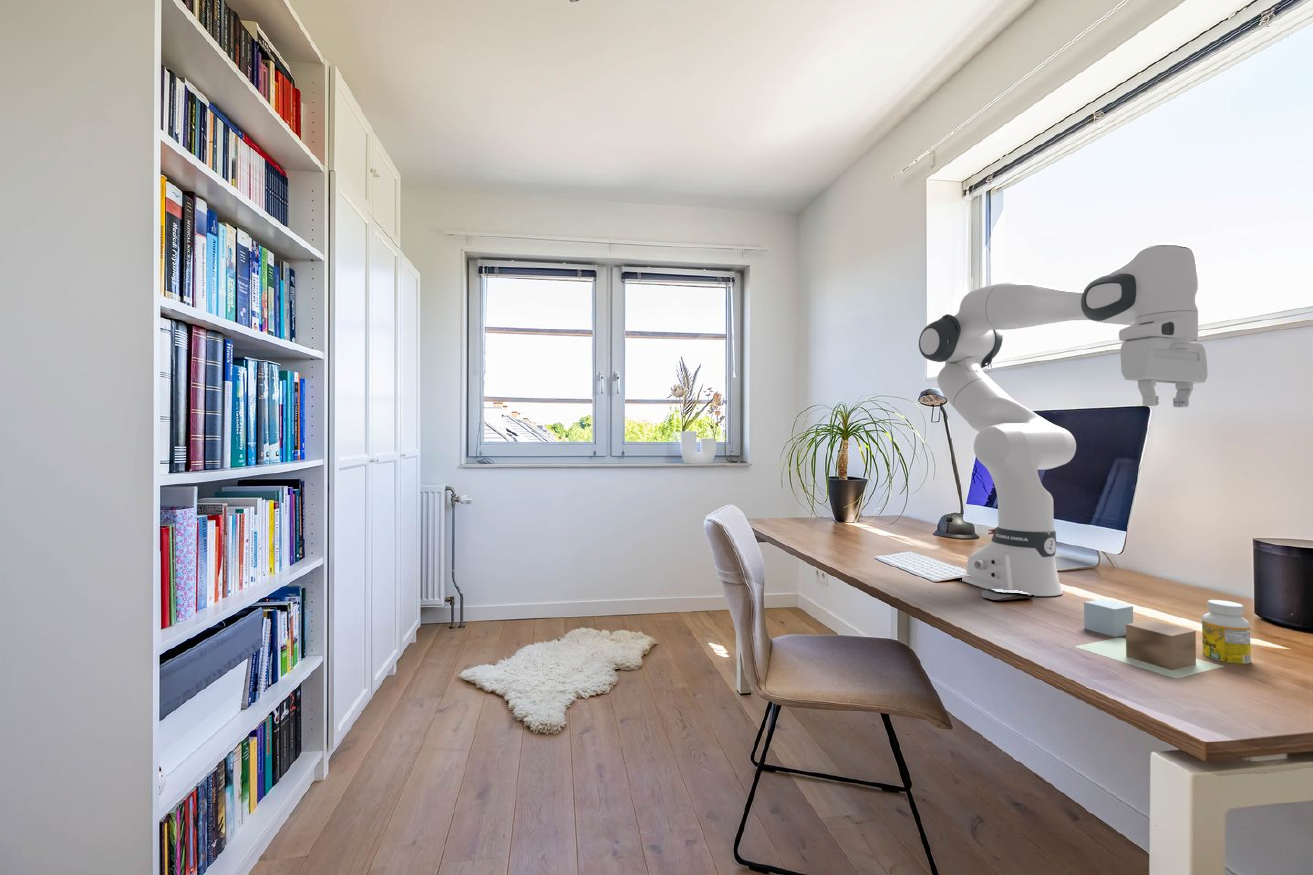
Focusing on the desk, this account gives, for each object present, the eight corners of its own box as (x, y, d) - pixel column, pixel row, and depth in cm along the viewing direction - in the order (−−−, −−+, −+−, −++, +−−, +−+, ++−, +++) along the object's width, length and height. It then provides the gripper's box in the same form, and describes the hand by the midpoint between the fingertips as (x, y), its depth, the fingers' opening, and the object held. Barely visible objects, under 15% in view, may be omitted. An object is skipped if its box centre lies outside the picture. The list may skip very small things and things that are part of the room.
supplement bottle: (1258, 673, 88) (1258, 609, 88) (1212, 668, 90) (1212, 605, 90) (1238, 661, 93) (1238, 600, 93) (1195, 656, 95) (1195, 597, 95)
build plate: (1073, 653, 96) (1073, 646, 96) (1120, 644, 100) (1120, 637, 100) (1176, 686, 83) (1176, 678, 83) (1224, 674, 87) (1224, 666, 87)
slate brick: (1084, 635, 105) (1084, 601, 105) (1102, 632, 107) (1102, 599, 107) (1115, 644, 101) (1114, 609, 101) (1133, 640, 102) (1133, 606, 102)
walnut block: (1126, 656, 91) (1125, 624, 91) (1149, 651, 94) (1149, 619, 94) (1171, 670, 86) (1171, 635, 86) (1195, 664, 88) (1195, 630, 88)
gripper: (1178, 338, 115) (1178, 408, 115) (1112, 330, 108) (1113, 406, 108) (1218, 333, 110) (1219, 407, 109) (1152, 324, 102) (1153, 404, 102)
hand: (1166, 406), depth 108 cm, fingers open, 8 cm apart
